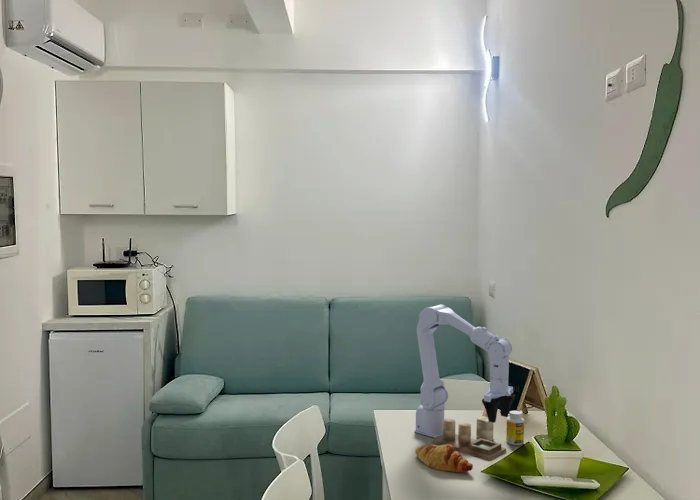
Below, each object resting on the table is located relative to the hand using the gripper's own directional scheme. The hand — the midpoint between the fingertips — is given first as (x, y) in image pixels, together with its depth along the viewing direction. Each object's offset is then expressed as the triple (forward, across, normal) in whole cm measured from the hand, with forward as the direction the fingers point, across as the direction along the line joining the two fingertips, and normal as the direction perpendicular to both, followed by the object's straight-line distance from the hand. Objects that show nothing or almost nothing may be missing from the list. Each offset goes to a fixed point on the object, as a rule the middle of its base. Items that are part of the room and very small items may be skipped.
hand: (498, 419), depth 210 cm
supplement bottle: (+10, +9, -1) cm, 13 cm away
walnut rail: (+10, -6, +7) cm, 13 cm away
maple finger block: (+10, +4, +8) cm, 13 cm away
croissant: (+10, -23, +5) cm, 26 cm away
